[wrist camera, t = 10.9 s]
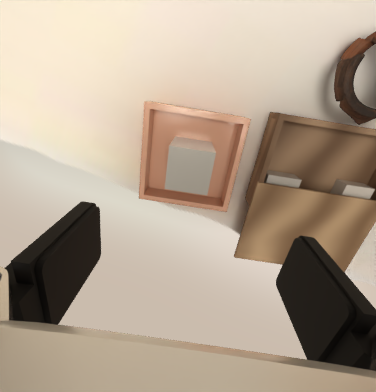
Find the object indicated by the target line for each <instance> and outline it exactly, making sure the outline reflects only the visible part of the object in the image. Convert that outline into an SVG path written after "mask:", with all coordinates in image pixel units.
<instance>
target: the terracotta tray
mask: <svg viewBox="0 0 376 392" xmlns="http://www.w3.org/2000/svg"><path fill="white" fill-rule="evenodd" d="M250 121H251V119H249V118H246V117H240V116H234V115H228V114H222V113H216V112H210V111H204V110H198V109H192V108H186V107H180V106H174V105H169V104H163V103H157V102H149V101H145V103H144V120H143V137H142V154H141V170H140V187H139V198H140V199H146V200H152V201H159V202H165V203H172V204H178V205H185V206H191V207H198V208H204V209H211V210H217V211H224V212H227V208H228V205H229V201H230V197H231V193H232V189H233V186H234V182H235V178H236V174H237V170H238V166H239V163H240V159H241V155H242V151H243V147H244V144H245V140H246V136H247V132H248V128H249V125H250ZM175 136H177V137H184V138H190V139H196V140H202V141H209V142H212V144H213V146H214V149H215V152H216V155H215V160H214V165H213V170H212V175H211V179H210V184H209V189H208V194H207V195H201V194H195V193H188V192H182V191H175V190H169V189H165V180H166V171H167V162H168V153H169V145H170V144H171V142H172V141H173V139H174V137H175Z"/></svg>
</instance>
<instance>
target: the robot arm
mask: <svg viewBox="0 0 376 392" xmlns="http://www.w3.org/2000/svg"><path fill="white" fill-rule="evenodd" d="M100 255H101V238H100V209H99V207H96V204H95V203H89V202H80V203H79V204H78V205H77V206H76V207H74V208H73V209H72V210H71V211H70V212H68V213H67V214H66V215H65V216H64V217H62V218H61V219H60V220H59V221H58V222H57V223H55V224H54V225H53V226H52V227H51V228H49V229H48V230H47V231H46V232H45V233H44V234H42V235H41V236H40V237H39V238H38V239H36V240H35V241H34V242H33V243H32V244H31V245H29V246H28V247H27V248H26V249H25V250H23V251H22V252H21V253H20V254H19V255H18V256H16V257H15V258H14V259H13V260H12V261H11V263H10V264H9V265H8V266H7V267H6V268H3V267H0V392H376V309H375V308H374V307H373V306H372V305H371V303H370V302H369V301H368V300H367V299H366V298H365V296H364V295H363V294H362V293H361V292H360V291H359V289H358V288H357V287H356V286H355V285H354V283H353V282H352V281H351V280H350V279H349V278H348V276H347V275H346V274H345V273H344V272H343V271H342V269H341V268H340V267H339V266H338V265H337V264H336V262H335V261H334V260H333V259H332V258H331V257H330V255H329V254H328V253H327V252H326V251H325V249H324V248H323V247H322V246H321V245H320V244H319V242H318V241H317V240H316V239H315V238H313V237H308V236H299V237H298V238H295V239H294V241H293V243H292V245H291V248H290V250H289V252H288V254H287V257H286V259H285V261H284V263H283V266H282V268H281V270H280V273H279V275H278V277H277V280H276V286H277V289H278V291H279V293H280V296H281V297H282V301H283V303H284V305H285V308H286V310H287V312H288V315H289V317H290V320H291V322H292V324H293V327H294V329H295V331H296V334H297V336H298V338H299V341H300V343H301V345H302V348H303V350H304V353H305V355H306V357H307V360H305V359H298V358H291V357H285V356H278V355H272V354H265V353H258V352H251V351H245V350H238V349H231V348H224V347H217V346H210V345H203V344H196V343H189V342H182V341H175V340H167V339H161V338H154V337H146V336H140V335H132V334H125V333H118V332H111V331H103V330H96V329H88V328H81V327H73V326H64V325H58V324H59V322H60V321H61V319H62V317H63V316H64V314H65V313H66V311H67V310H68V308H69V306H70V305H71V303H72V302H73V300H74V298H75V297H76V295H77V294H78V292H79V291H80V289H81V287H82V286H83V284H84V283H85V281H86V280H87V277H88V276H89V275H90V273H91V272H92V270H93V268H94V267H95V265H96V264H97V262H98V260H99V258H100Z"/></svg>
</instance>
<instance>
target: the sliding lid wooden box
mask: <svg viewBox="0 0 376 392" xmlns="http://www.w3.org/2000/svg"><path fill="white" fill-rule="evenodd" d="M268 170H271V171H277V172H284V173H290V174H294V175H296V176H297V177H298V178H300V179H301V180H302V181H301V183H300V186H299V188H295V187H288V186H282V185H276V184H270V183H264V180H265V177H266V174H267V171H268ZM337 179H339V180H346V181H352V182H358V183H364V184H366V185H368V186H370V187H372V188H374V189H375V191H374V192H373V194H372V196H371V198H370V199H364V198H358V197H351V196H345V195H339V194H333V193H330V192H331V190H332V188H333V186H334V184H335V182H336V180H337ZM245 199H246V201H247V203H248V205H249V209H248V212H247V215H246V219H245V222H244V225H243V228H242V232H241V235H240V238H239V241H238V244H237V248H236V251H235V254H234V257H235V258H242V259H249V260H255V261H262V262H270V263H276V264H282V265H283V263H284V261H285V259H286V257H287V254H288V252H289V250H290V248H291V245H292V243H293V241H294V239H295V238H298V237H299V236H308V237H313V238H315V239H316V240H317V241H318V242H319V244H320V245H321V246H322V247H323V248H324V249H325V251H326V252H327V253H328V254H329V255H330V257H331V258H332V259H333V260H334V261H335V262H336V264H337V265H338V266H339V267H340V268H341V269H342V271H343V272H345V270H346V269H347V267H348V265H349V264H350V262H351V260H352V259H353V257H354V256H355V254H356V252H357V251H358V249H359V248H360V246H361V244H362V243H363V241H364V239H365V238H366V236H367V235H368V233H369V231H370V230H371V228H372V227H373V225H374V223H375V222H376V129H370V128H364V127H358V126H352V125H346V124H340V123H334V122H328V121H322V120H316V119H310V118H304V117H298V116H293V115H287V114H281V113H273V112H270V115H269V119H268V122H267V126H266V129H265V132H264V136H263V139H262V143H261V146H260V149H259V153H258V156H257V159H256V163H255V166H254V170H253V173H252V176H251V180H250V183H249V187H248V190H247V193H246V197H245Z"/></svg>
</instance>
